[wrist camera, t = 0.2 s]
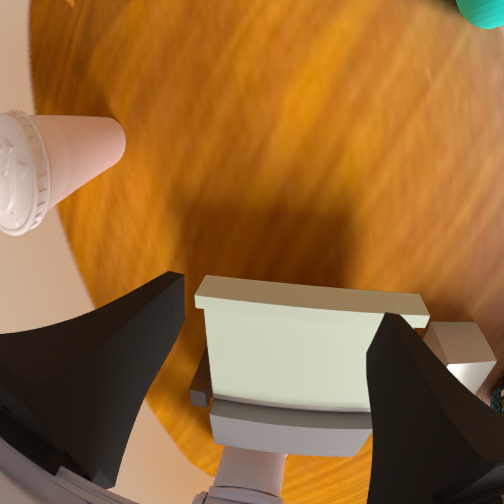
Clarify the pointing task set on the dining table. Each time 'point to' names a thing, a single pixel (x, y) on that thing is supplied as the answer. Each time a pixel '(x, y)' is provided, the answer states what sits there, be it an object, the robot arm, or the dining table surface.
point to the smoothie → (50, 162)
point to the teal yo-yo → (482, 12)
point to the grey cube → (461, 351)
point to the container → (498, 401)
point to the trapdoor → (294, 362)
